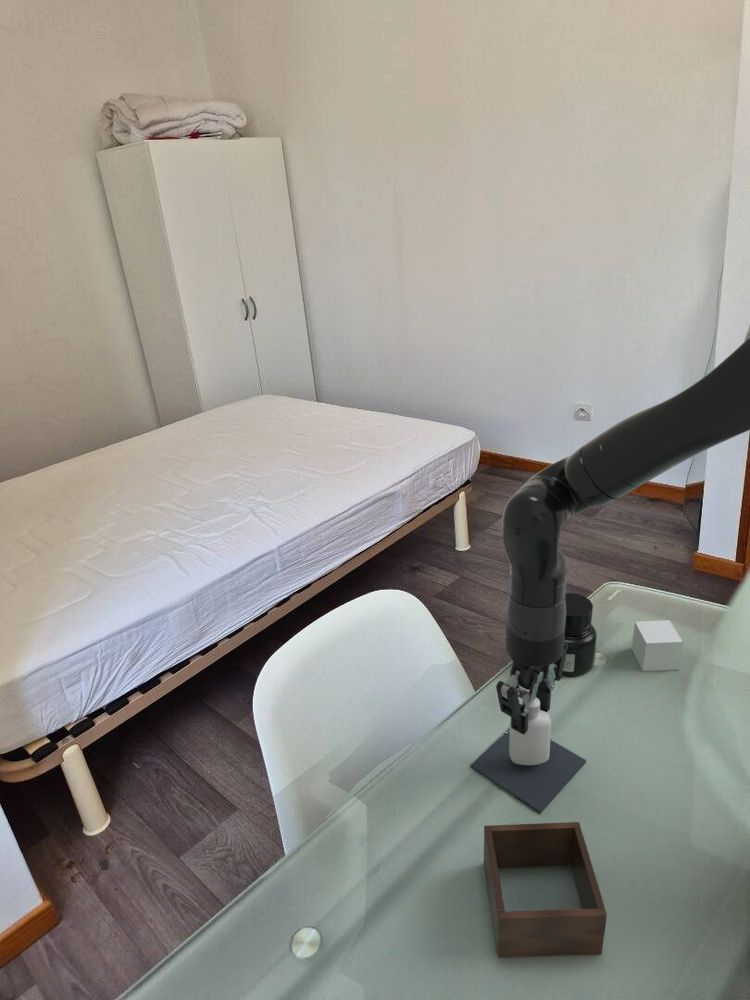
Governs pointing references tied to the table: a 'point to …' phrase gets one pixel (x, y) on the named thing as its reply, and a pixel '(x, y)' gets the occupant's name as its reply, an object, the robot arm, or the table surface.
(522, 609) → the robot arm
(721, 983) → the table surface
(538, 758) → the eye dropper bottle
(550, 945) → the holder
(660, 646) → the grey cube
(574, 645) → the ink bottle
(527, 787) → the mat
